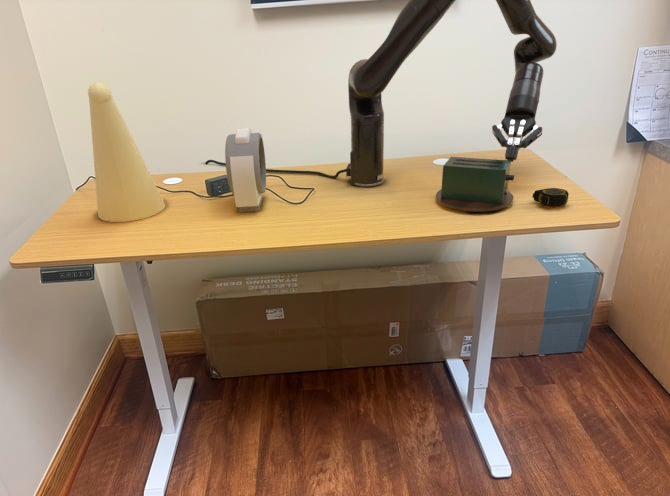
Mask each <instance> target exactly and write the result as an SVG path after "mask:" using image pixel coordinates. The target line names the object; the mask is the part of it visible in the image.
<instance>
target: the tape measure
mask: <svg viewBox="0 0 670 496" xmlns="http://www.w3.org/2000/svg"><path fill="white" fill-rule="evenodd" d="M532 198H533V201H534V202H536V203H539V204H540V205H541V206H543V207H549V208H558V207H563V206H566V205H567V203H568V200H569V191H568V190H566V189H563V188H557V187H549V188H548V187H547V188H542V189H536V190H534V192H533V193H532Z"/></svg>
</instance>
